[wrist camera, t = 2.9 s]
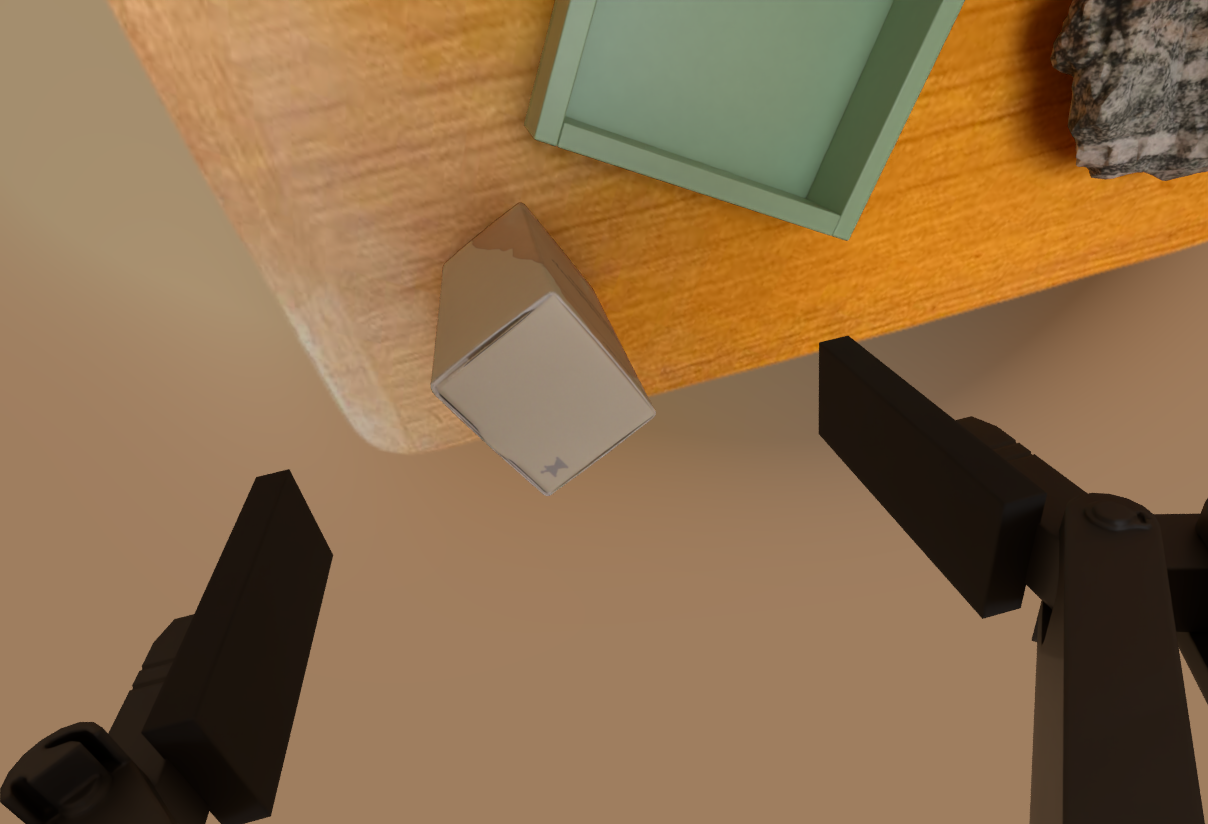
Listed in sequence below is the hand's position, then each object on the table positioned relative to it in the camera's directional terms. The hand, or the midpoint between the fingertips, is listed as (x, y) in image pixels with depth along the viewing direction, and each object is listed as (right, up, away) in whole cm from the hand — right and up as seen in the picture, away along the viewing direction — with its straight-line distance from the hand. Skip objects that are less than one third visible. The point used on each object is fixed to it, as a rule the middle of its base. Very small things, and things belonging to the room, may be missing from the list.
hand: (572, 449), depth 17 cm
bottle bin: (+6, +16, +8) cm, 18 cm away
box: (-3, +7, +11) cm, 13 cm away
